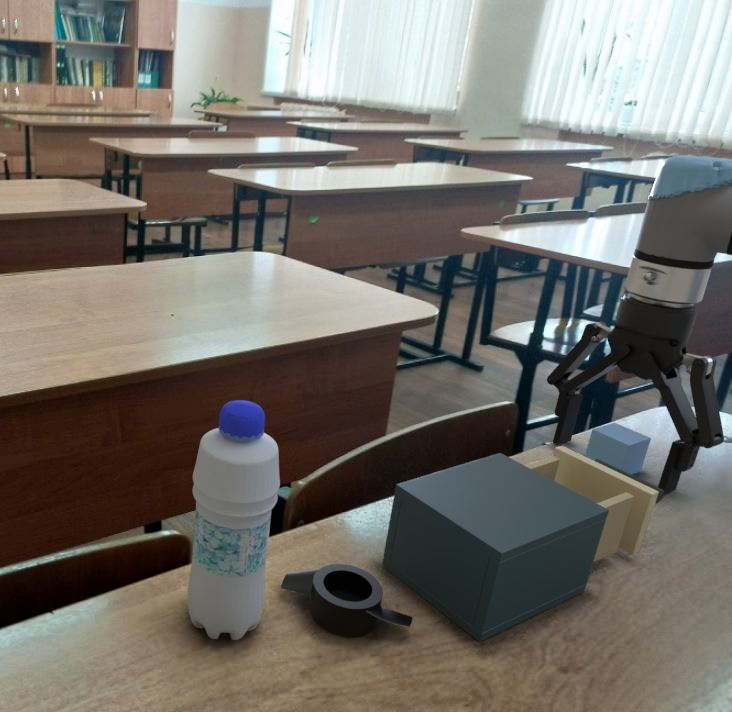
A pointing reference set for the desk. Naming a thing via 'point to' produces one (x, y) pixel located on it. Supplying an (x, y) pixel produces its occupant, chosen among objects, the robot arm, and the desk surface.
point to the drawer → (606, 496)
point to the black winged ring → (344, 599)
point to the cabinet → (492, 542)
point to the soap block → (618, 447)
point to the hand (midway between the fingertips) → (610, 465)
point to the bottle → (232, 521)
